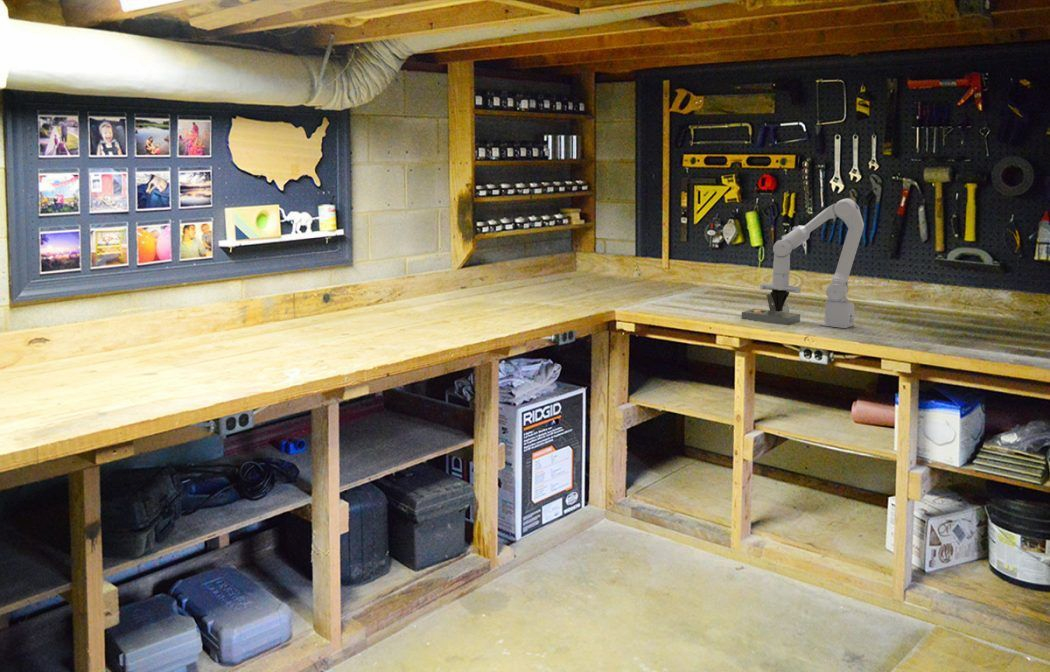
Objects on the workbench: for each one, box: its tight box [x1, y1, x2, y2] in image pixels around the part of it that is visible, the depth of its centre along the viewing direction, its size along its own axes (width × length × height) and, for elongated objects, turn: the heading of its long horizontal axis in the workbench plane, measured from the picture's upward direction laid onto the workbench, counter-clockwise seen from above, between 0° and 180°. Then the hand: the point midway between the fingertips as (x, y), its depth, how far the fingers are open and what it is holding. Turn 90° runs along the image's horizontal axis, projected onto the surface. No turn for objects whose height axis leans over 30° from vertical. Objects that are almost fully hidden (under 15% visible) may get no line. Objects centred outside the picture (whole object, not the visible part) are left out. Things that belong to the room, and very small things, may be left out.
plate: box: [740, 308, 801, 326], centre depth 344 cm, size 18×10×2 cm, turn 50°
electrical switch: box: [766, 289, 790, 313], centre depth 357 cm, size 9×5×9 cm, turn 141°
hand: (778, 311), depth 342 cm, fingers closed
